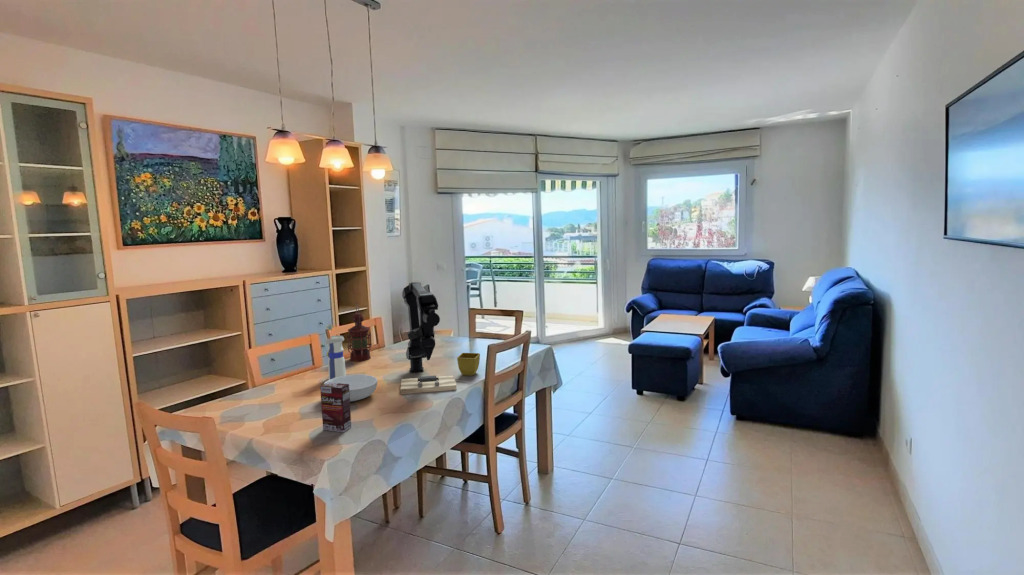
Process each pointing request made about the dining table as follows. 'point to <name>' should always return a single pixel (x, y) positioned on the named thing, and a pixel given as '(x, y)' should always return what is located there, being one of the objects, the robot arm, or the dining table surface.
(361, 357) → the lantern
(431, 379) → the dark grey chamfered block
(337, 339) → the water bottle
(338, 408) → the supplement box
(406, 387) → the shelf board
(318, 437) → the dining table surface
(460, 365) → the flower pot
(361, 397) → the serving bowl
